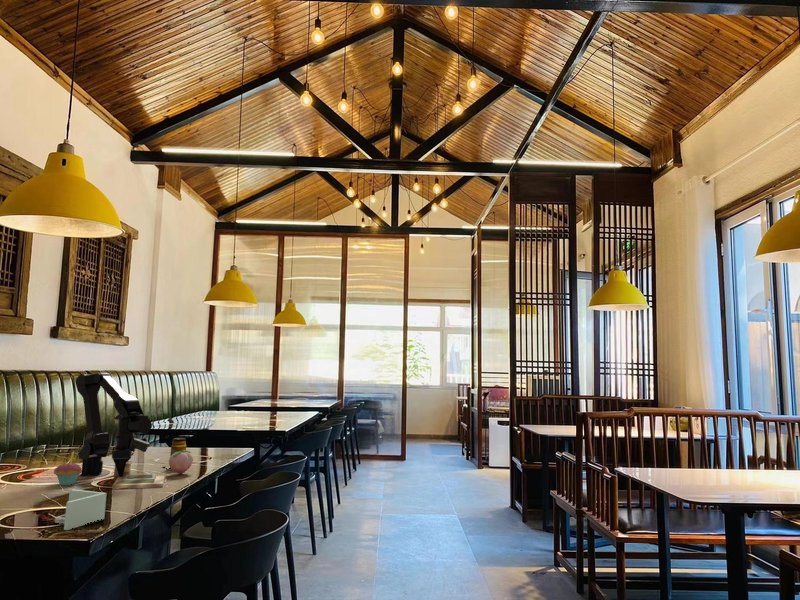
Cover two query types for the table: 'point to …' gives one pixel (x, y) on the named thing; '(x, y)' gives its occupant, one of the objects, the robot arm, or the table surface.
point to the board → (139, 481)
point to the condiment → (178, 445)
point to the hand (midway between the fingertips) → (122, 474)
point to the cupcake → (68, 472)
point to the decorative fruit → (180, 461)
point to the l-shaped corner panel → (82, 508)
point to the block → (126, 471)
